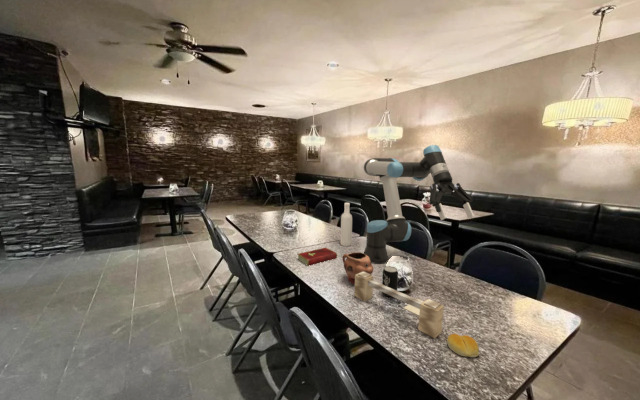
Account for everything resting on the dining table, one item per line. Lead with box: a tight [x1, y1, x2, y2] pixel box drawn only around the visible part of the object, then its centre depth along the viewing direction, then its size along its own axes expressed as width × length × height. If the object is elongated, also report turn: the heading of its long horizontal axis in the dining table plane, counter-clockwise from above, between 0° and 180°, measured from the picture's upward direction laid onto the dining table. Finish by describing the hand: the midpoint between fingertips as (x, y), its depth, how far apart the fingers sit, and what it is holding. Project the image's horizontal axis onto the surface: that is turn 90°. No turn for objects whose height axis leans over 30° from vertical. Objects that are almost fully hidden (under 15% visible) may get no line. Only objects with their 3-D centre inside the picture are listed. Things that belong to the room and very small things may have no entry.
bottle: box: [340, 202, 353, 247], centre depth 180 cm, size 8×8×30 cm
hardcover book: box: [296, 247, 338, 267], centre depth 156 cm, size 12×21×4 cm, turn 124°
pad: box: [403, 298, 425, 317], centre depth 104 cm, size 11×11×1 cm
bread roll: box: [446, 333, 480, 358], centre depth 83 cm, size 8×9×4 cm
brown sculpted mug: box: [342, 251, 375, 286], centre depth 127 cm, size 20×12×14 cm, turn 43°
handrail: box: [353, 271, 445, 339], centre depth 101 cm, size 36×5×11 cm, turn 41°
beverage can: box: [381, 265, 399, 298], centre depth 115 cm, size 7×7×12 cm
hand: (457, 218), depth 108 cm, fingers open, 13 cm apart
